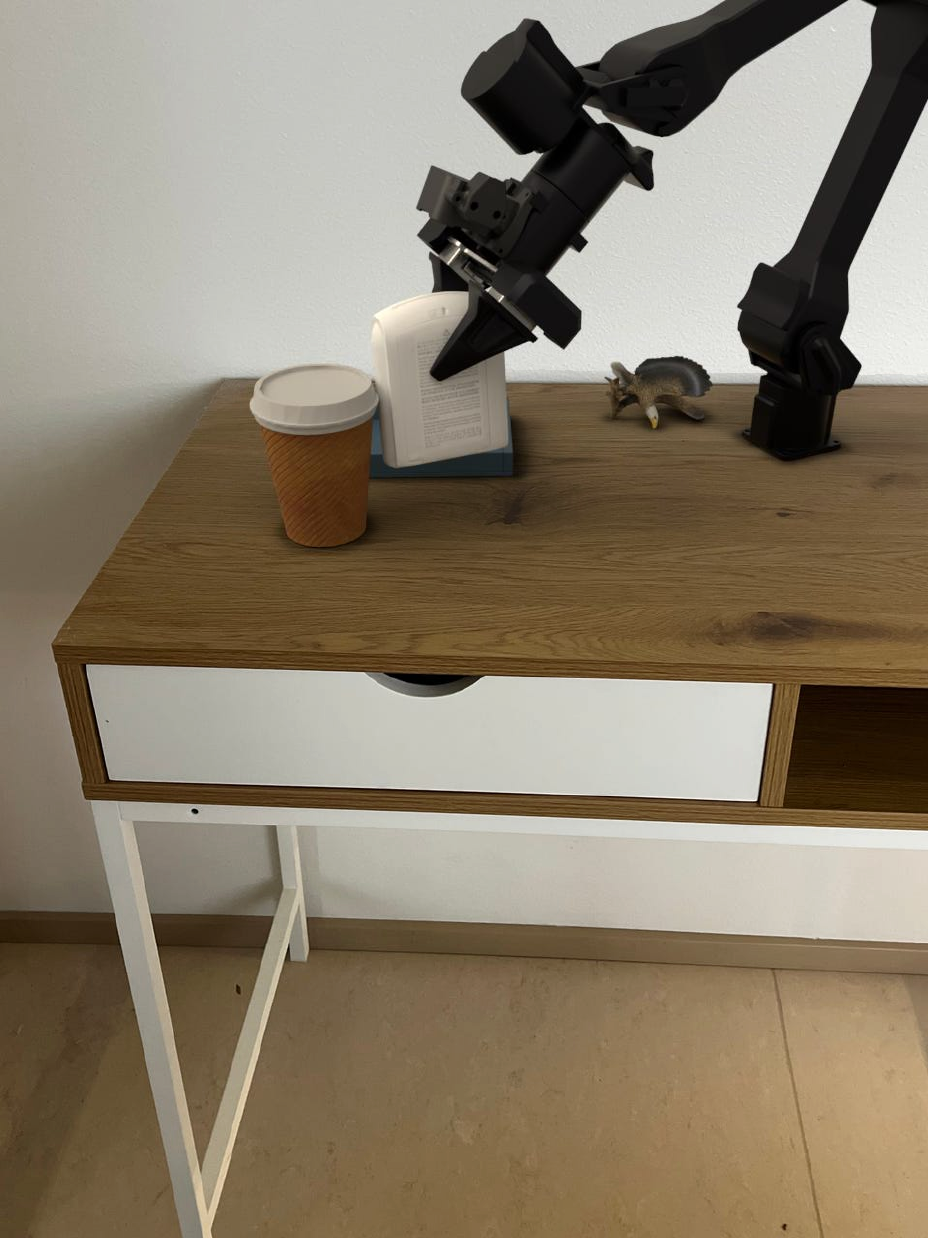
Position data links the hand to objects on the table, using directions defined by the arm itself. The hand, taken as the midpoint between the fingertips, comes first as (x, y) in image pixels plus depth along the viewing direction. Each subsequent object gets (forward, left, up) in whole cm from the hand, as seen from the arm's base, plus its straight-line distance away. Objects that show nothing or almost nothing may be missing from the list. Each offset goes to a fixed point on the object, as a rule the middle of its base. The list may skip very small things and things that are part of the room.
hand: (423, 367), depth 86 cm
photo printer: (-1, +1, -7) cm, 7 cm away
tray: (-4, -13, -12) cm, 18 cm away
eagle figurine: (-27, -8, -12) cm, 31 cm away
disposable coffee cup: (+8, -1, -12) cm, 15 cm away
